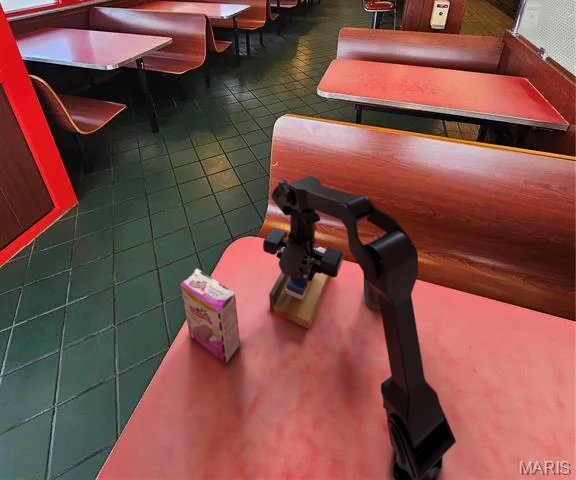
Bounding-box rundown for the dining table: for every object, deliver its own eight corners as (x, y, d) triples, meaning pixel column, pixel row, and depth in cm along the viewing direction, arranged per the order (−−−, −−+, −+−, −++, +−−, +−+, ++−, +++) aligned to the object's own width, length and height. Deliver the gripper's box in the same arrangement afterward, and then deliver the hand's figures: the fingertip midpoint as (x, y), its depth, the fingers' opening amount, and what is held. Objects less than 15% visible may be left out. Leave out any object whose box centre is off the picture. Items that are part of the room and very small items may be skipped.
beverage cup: (390, 317, 77) (400, 253, 70) (358, 311, 78) (364, 248, 71) (387, 289, 84) (396, 228, 76) (358, 284, 85) (364, 224, 78)
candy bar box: (188, 337, 73) (178, 284, 67) (204, 318, 77) (196, 266, 71) (225, 367, 68) (218, 312, 62) (241, 345, 72) (236, 291, 66)
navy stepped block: (301, 261, 87) (301, 246, 85) (317, 267, 85) (317, 251, 83) (285, 293, 78) (285, 277, 76) (302, 300, 77) (302, 284, 75)
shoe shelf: (330, 273, 88) (331, 256, 86) (308, 329, 75) (309, 310, 72) (296, 260, 92) (296, 244, 90) (269, 311, 79) (269, 293, 76)
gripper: (249, 238, 73) (253, 289, 78) (330, 268, 65) (327, 322, 71) (272, 207, 82) (274, 254, 88) (345, 230, 75) (342, 280, 80)
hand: (302, 276), depth 81 cm, fingers closed on navy stepped block, 4 cm apart
